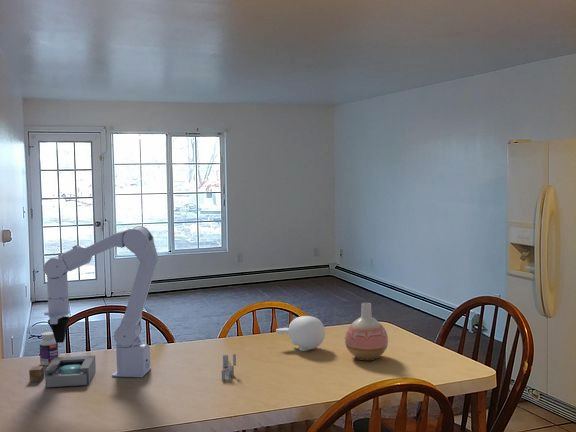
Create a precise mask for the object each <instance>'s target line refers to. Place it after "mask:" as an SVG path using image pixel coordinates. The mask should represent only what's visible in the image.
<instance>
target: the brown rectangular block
mask: <svg viewBox="0 0 576 432" xmlns="http://www.w3.org/2000/svg"><path fill="white" fill-rule="evenodd" d="M44 367H45V365H40V366H39V365H38V366H31V367H30V369H29V370H28V372H29V383H36V382H38V383H39V382H43V380H44V379H45V369H44Z"/></svg>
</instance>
